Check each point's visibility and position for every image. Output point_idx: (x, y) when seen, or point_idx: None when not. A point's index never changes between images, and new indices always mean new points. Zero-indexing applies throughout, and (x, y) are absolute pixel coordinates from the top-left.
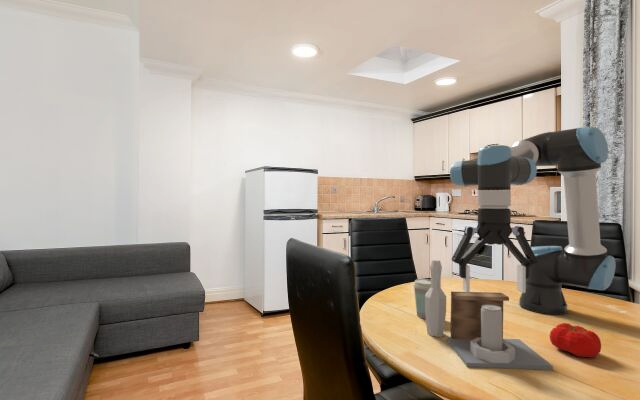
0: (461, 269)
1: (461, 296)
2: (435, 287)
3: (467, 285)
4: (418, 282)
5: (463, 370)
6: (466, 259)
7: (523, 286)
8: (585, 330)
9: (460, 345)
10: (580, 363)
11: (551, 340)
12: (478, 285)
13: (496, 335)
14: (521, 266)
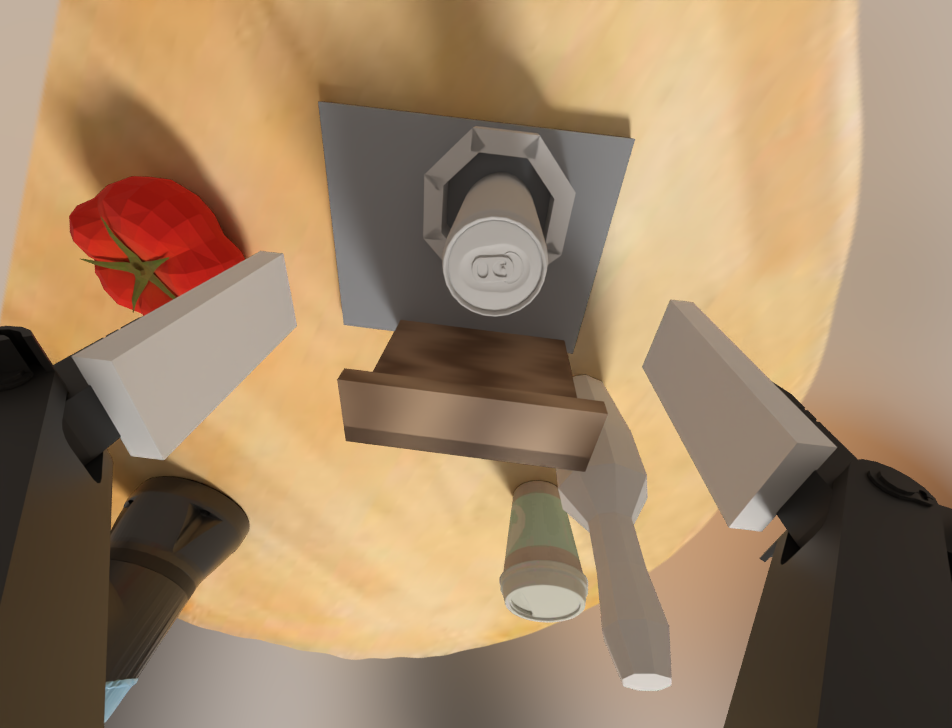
0: (838, 441)
1: (580, 408)
2: (623, 519)
3: (709, 325)
4: (581, 599)
5: (663, 106)
6: (910, 538)
7: (248, 267)
8: (103, 268)
9: (567, 288)
10: (208, 155)
11: None
12: (307, 624)
13: (498, 185)
14: (124, 381)
